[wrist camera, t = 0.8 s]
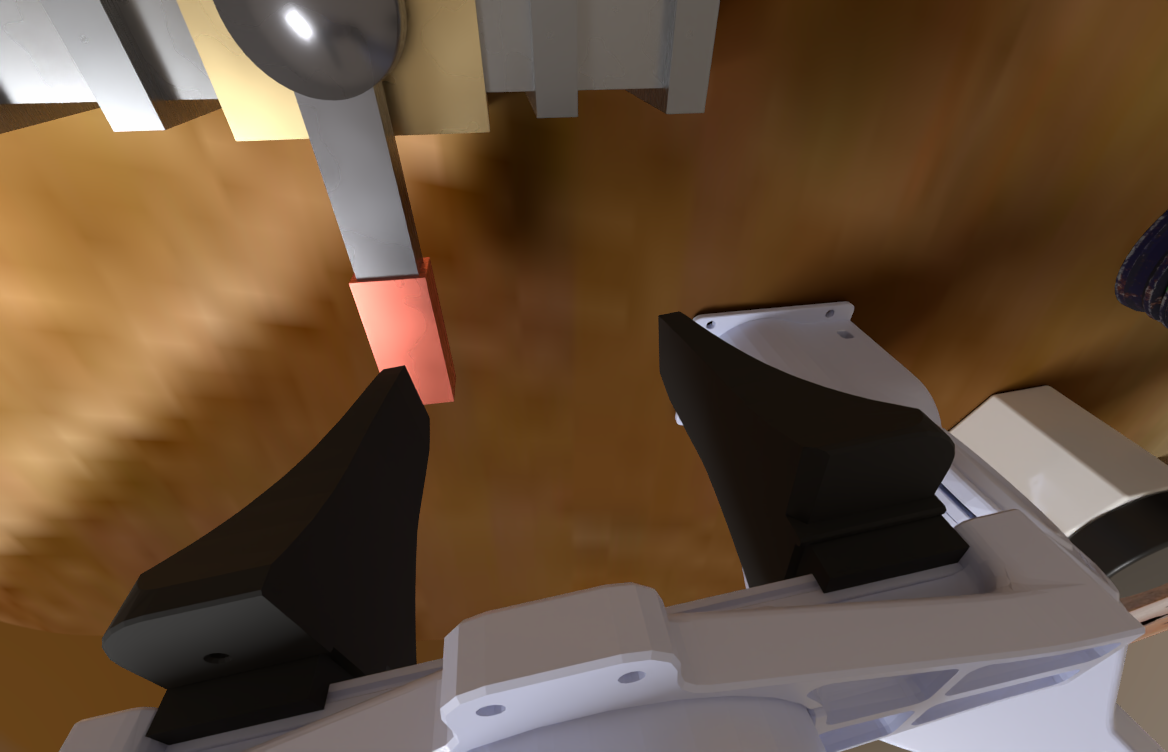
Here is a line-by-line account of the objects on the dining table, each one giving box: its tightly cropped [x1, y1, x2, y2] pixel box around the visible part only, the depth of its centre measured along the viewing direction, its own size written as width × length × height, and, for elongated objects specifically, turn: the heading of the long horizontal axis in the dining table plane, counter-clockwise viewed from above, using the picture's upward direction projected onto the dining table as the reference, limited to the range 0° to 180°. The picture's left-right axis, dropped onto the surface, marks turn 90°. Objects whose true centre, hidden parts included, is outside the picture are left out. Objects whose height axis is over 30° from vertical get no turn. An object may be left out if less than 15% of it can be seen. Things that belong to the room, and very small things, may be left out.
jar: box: [948, 385, 1168, 598], centre depth 32 cm, size 9×8×12 cm
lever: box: [213, 0, 456, 405], centre depth 14 cm, size 13×4×2 cm, turn 0°
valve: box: [0, 0, 720, 141], centre depth 13 cm, size 20×6×5 cm, turn 90°
